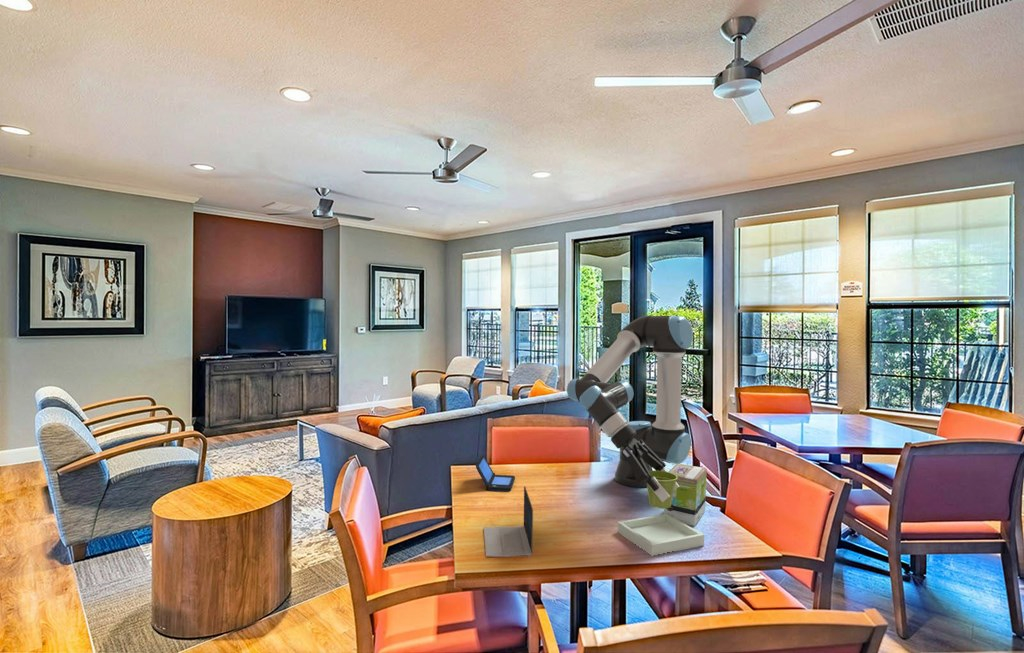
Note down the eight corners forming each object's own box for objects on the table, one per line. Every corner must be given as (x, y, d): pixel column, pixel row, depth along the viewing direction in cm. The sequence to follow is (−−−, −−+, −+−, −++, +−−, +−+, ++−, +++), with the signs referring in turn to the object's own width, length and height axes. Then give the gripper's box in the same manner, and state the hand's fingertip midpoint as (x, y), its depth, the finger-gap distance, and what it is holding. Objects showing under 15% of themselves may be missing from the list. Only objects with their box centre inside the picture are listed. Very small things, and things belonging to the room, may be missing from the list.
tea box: (696, 527, 152) (697, 479, 152) (663, 519, 158) (664, 473, 157) (706, 511, 165) (707, 466, 165) (675, 504, 170) (676, 461, 170)
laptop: (483, 529, 149) (483, 486, 149) (525, 528, 150) (525, 485, 150) (485, 558, 131) (486, 509, 131) (533, 557, 132) (533, 508, 132)
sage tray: (666, 523, 155) (666, 513, 155) (704, 545, 140) (704, 534, 140) (617, 531, 148) (617, 521, 148) (651, 556, 133) (652, 545, 133)
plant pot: (652, 512, 138) (653, 481, 138) (637, 500, 147) (638, 471, 147) (683, 510, 140) (684, 479, 140) (666, 498, 149) (667, 469, 149)
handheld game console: (510, 492, 181) (511, 467, 181) (474, 490, 182) (474, 465, 182) (515, 478, 196) (515, 455, 196) (482, 477, 198) (482, 453, 198)
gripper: (623, 431, 161) (672, 490, 153) (596, 445, 143) (649, 513, 134) (639, 417, 158) (690, 476, 150) (614, 430, 140) (670, 498, 131)
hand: (671, 493), depth 142 cm, fingers closed on plant pot, 9 cm apart
